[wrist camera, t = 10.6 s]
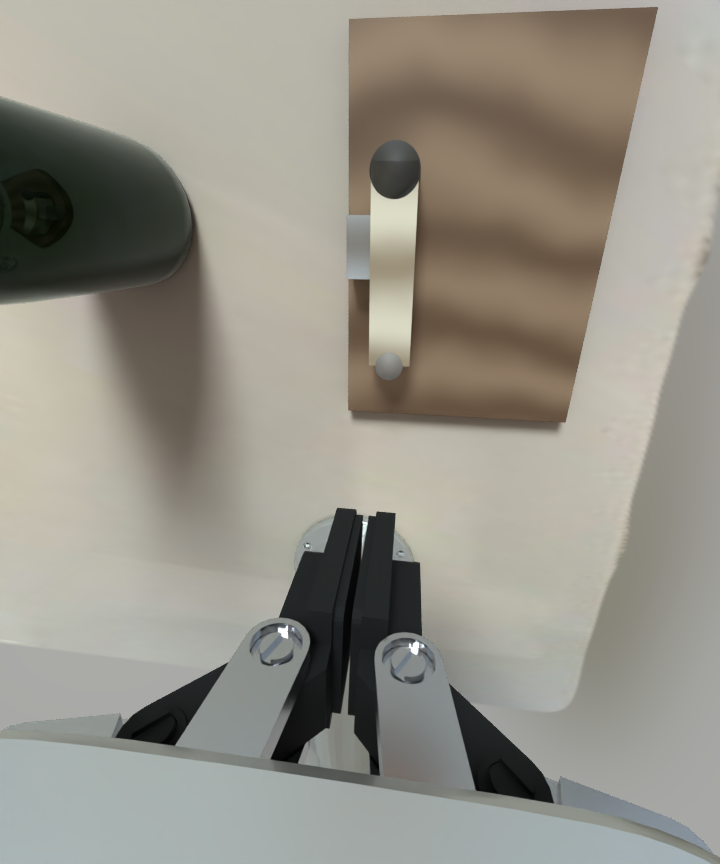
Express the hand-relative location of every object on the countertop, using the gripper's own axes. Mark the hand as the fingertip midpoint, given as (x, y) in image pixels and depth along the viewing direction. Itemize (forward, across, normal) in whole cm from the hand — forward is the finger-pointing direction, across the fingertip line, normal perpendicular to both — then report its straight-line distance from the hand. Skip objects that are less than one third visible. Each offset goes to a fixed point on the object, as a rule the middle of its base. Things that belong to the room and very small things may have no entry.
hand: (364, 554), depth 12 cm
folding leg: (+24, +1, -7) cm, 25 cm away
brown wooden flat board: (+26, -5, -9) cm, 28 cm away
